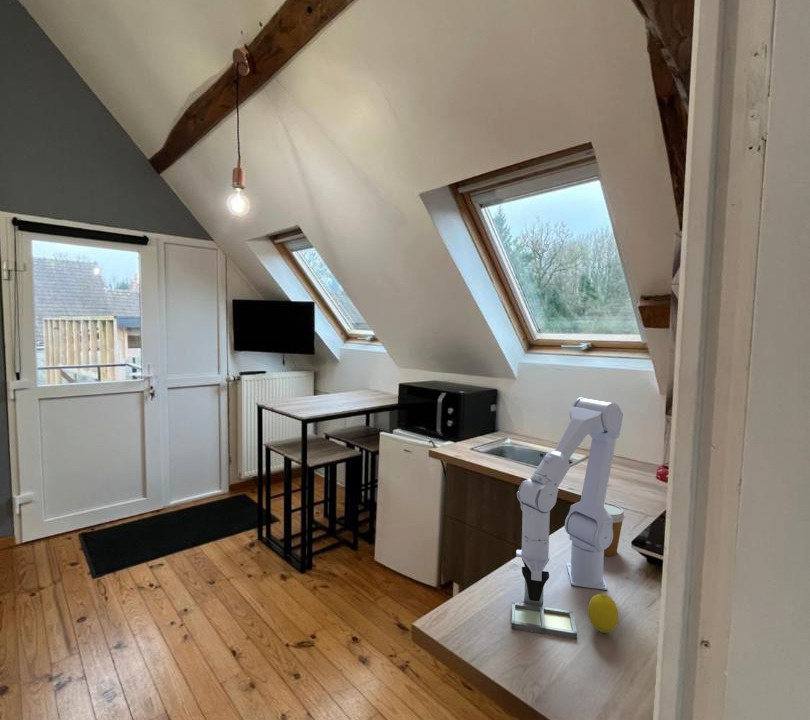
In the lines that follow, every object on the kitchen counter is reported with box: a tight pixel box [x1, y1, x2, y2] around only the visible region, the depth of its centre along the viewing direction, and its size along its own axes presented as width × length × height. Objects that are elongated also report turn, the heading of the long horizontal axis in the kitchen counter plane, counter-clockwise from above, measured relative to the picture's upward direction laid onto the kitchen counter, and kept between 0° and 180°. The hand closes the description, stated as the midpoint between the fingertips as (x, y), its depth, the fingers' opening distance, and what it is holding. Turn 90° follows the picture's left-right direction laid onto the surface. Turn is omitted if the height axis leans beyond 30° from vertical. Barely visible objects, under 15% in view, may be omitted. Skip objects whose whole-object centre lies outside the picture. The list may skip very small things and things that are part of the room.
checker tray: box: [511, 602, 578, 640], centre depth 90 cm, size 7×12×1 cm, turn 76°
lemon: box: [587, 593, 619, 634], centre depth 87 cm, size 6×6×8 cm
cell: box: [523, 580, 544, 607], centre depth 97 cm, size 4×4×7 cm
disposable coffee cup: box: [604, 501, 626, 557], centre depth 119 cm, size 10×10×12 cm
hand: (533, 593), depth 97 cm, fingers closed on cell, 4 cm apart
